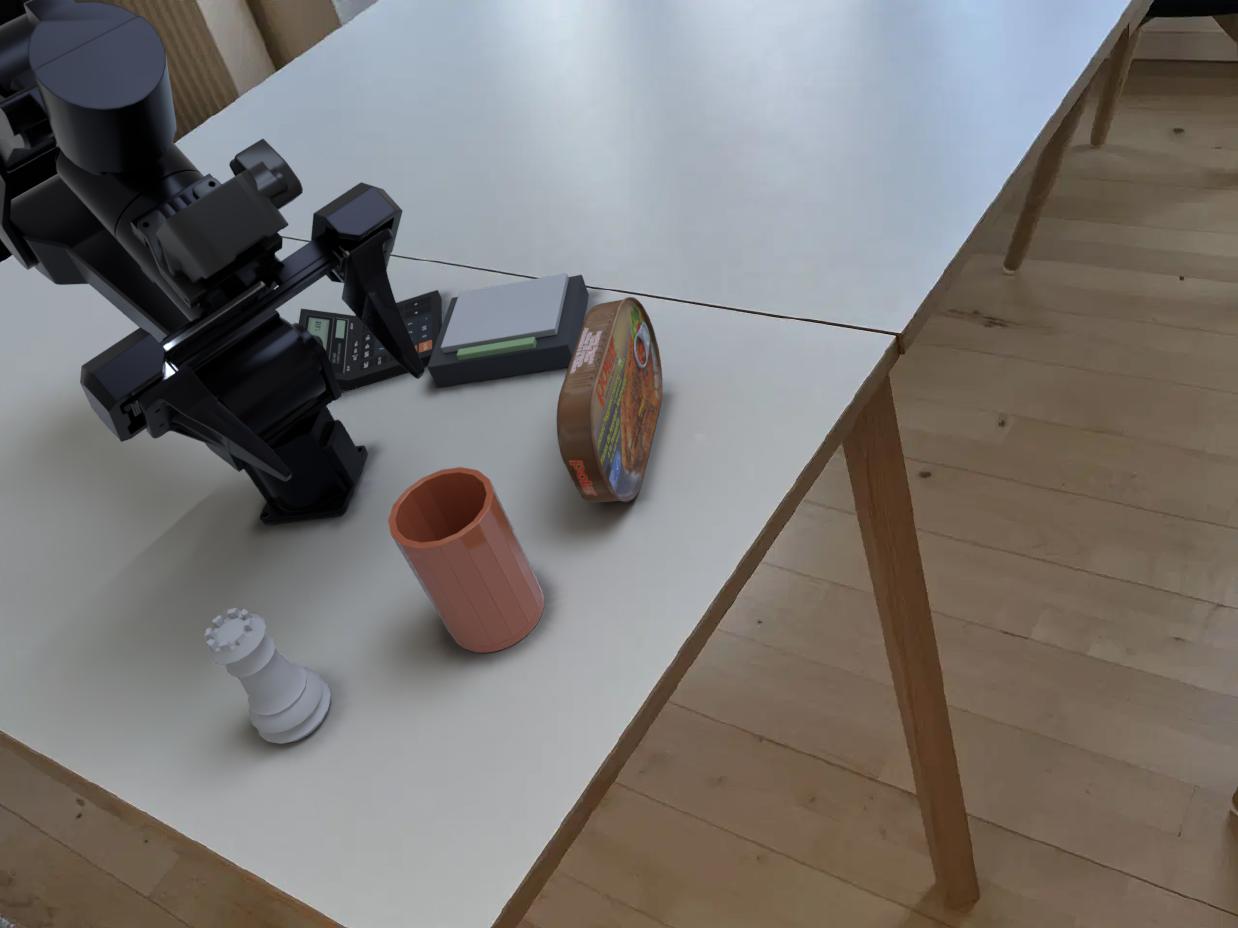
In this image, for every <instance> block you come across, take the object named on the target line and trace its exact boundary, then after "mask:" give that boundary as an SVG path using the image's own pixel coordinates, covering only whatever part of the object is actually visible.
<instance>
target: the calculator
mask: <svg viewBox="0 0 1238 928" xmlns="http://www.w3.org/2000/svg"><path fill="white" fill-rule="evenodd" d="M442 303H443V302H442V296H441V294H440V292H439V290H438V289H436V290H433V291H429V292H426V293H423V294H419V295H417V296H414V297H410V298H407V299H404V300H400V301H398V302H397V301H396V304H397V306H398V309H399V311H400V313H401V316H402V318H403V320H404V323H405V325H406V327H407V330H408V332H409V334H410V337H411V339H412V341H413V343H414V346H415V348H416V350H417V353H418V355H419V357H420V360H421V362H422V364H423V367H424V368H425V367H428V364H429V361H430V358H431V356H432V353H433V350H434V347H435V344H436V341H437V338H438V336H439V333H440V330H441V327H442V324H443V309H442V308H443V305H442ZM297 323H298V324H300V325H302V326H303V327H304V328H305V329H307V330H308V331H309V332H310V333H311V334H313V335H318V336H319V337H320V338H321V339H322V341H323V347H324V349H325V350H326V353H327V355H328V358H329V361H330V363H331V366H332V369H333V371H334V374H335V377H336V379H337V382H338V385H339V387H338V388H339V389H340V388H342V389H349V390H350V389H352V390H355V389H358V388H360V387H363V386H367V385H371V384H373V383H376V382H380V381H383V380H386V379H389V378H393V377H396V376H399V375H403V374H406V373H409V372H408V371H407V370H406V369H404V368H403V367H402V366H401V365H400V364H399V363H398V362H397V361H396V360H395V359H394V358H393V356H392V355H391V354H390V353H389V352H388V351H387V350H386V349H385V347H384V346H383V345H382V344H381V343H380V342H379V341H378V339H377V338H376V337H375V336H374V335H373V334H372V333H371V331H370V330H369V329H368V328H367V327H366V326H365V325H364V324H363V322H362V321H361V320H360V319H359V318H358V317H357V316H356V315H355V314H354V315H353V314H344V313H337V312H331V311H323V310H317V309H316V310H315V309H307V308H300V312H299V318H298V322H297Z"/></svg>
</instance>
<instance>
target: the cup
mask: <svg viewBox="0 0 1238 928" xmlns="http://www.w3.org/2000/svg"><path fill="white" fill-rule="evenodd" d="M387 522H388V528H389V532H390V533H389V534H390V535H391V537H392V539H393V541H394V542H395V544H396V546H397V547H398V549H399V551H400V552H401V554H402V556H403V558H404V559H405V561H406V562H407V565H408V566H409V567H410V569H411V571H412V574H414V576H415V578H416V580H417V582H418V583H419V584H420V586H421V588H422V590H423V592H424V594H425V595H426V596H427V598H428V600H429V601H430V603H431V605H432V606H433V608H434V610H435V611H436V613H437V615H438V617H439V618H440V620H441V622H442V624H443V625H444V627H445V628H446V630H447V632H448V633H449V634H450V635H451V637H452V639H453V640H454V641H455V643H456V644H457V645H459V647H461V648H463V649H465V650H467V651H470V652H474V653H481V654H483V653H485V654H486V653H494V652H498V651H502V650H504V649H507V648H510V647H512V646H514V645H515V644H517V643H519V642H520V641H522V640H523V639H525V637H527V636H528V635H529V634H530V633H531V632H532V631H533V630H534V628H535V627H536V626H537V624H538V623H539V621H540V620H541V618H542V615H543V612H544V608H545V595H544V592H543V589H542V587H541V586H540V582H539V579H538V577H537V575H536V573H535V571H534V569H533V567H532V565H531V562H530V561H529V558H528V557H527V555H526V552H525V550H524V548H523V546H522V543H521V542H520V539H519V537H518V535H517V533H516V531H515V529H514V527H513V525H512V523H511V521H510V519H509V517H508V515H507V512H506V510H505V508H504V506H503V504H502V502H501V500H500V497H499V496H498V493H497V492H496V489H495V487H494V486H493V483H492V481H491V479H490V478H489V477H488V476H486V475H485V474H484V473H483V472H482V471H480V470H478V469H474V468H468V467H464V466H460V467H459V466H458V467H450V468H444V469H440V470H438V471H435V472H433V473H430V474H428V475H425V476H423V477H421V478H419V479H418V480H417V481H415V482H414V483H412V485H410V486H409V487H407V488H406V489H405V490H404V491H403V492H402V494H401V495H400V496H399V497H398V499H397V500H396V501H395V502H394V503H393V505H392V507H391V511H390V513H389V516H388V520H387Z"/></svg>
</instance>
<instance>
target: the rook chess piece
mask: <svg viewBox="0 0 1238 928" xmlns="http://www.w3.org/2000/svg"><path fill="white" fill-rule="evenodd" d="M227 615H228V617H226V618H222V616H221V615H220V614H218V615H217V616H216V617H215V618H213V620H211V623H212V624H213V625H214V626H215V627H214V629H213V628H206V629H205V633H204V638H205V639H206V640H207V641H206V644H207V650H206V651H207V656H208V658H209V659H210V660H211V661H212V662H214V663H215V664H220V665H225V670H226V673H228V674H229V675H230V676H231V677H233V678H237V679H238V681H239V682H240V683H241V685H242V687H243V688H244V691H245V693H246V694H247V703H248V714H249V717H250V720H251V723H252V726H253V727H255V728H256V729H257V731H258V735H259V736H260V737H262V738H263V739H264V740H265V741H266V742H267V743H274V744H289V743H294V742H297V741H300V740H302V739H304V738H305V737H307V736H309V735H311V734H312V733H313V732H314V731H315V730H316V729H317V728H318V727H319V726H321V724H322V723H323V721H324V719H325V717H326V715H327V714H328V712H329V708H330V702H331V695H332V693H331V690H330V688H329V685H328V683H327V682H326V681H324V680H323V679H322V678H321V676H320V674H318V673H317V672H316V671H314V670H313V669H311V668H310V667H308V666H305V665H304V666H303V665H300V664H298V663H294V662H290V661H289V660H288V659H287V658H286V657H285V656H283V655H282V654H281V653H280V652H279V651H278V649H277V648H276V643H275V640H274V638H273V637H271V636H270V635H269V634H266V630H267V625H266V622H265V618H263V617H262V616H260V615H259V614H255V613H250V612H249V611H248V610H247V609H245V608H243V609H242V610H241V611H240V610H239V609H238V608H237V607H234V608H230V609H227Z"/></svg>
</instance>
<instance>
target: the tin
mask: <svg viewBox="0 0 1238 928" xmlns="http://www.w3.org/2000/svg"><path fill="white" fill-rule="evenodd" d="M662 398H663V368H662V360H661V355H660V349H659V344H658V341H657V337H656V332H655V328H654V327H653V323H652V320H651V318H650V316H649V314H648V312H647V310H646V309H645V307H644V305H643V304H642V303H641V302H640V300H639V299H638V298H635V297H633V296H627V297H625V298H623V299H618V300H612V301H606V302H602V303H598V304H596V305H594V306H592V307H591V308H590V309H589V310H588V312H587V313H586V314H585V318H584V323H583V326H582V329H581V332H580V334H579V337H578V340H577V343H576V346H575V349H574V352H573V355H572V358H571V361H570V364H569V367H567V370H566V373H565V376H564V380H563V383H562V385H561V389H560V391H559V395H558V399H557V406H556V407H557V408H556V436H557V442H558V443H557V444H558V447H559V448H558V449H559V452H560V456H561V460H562V462H563V464H564V466H565V467H566V469H567V472H568V474H569V476H570V479H571V480H572V483H573V485H574V486H575V488H576V490H577V492H578V493H579V495H580V496H581V498H582V499H583V500H584V501H586V502H590V503H607V502H608V503H609V502H618V501H620V502H625V503H628V502H630V501H632V500H633V499H634V498H636V496H638V494H639V492H640V490H641V488H642V484H643V480H644V477H645V472H646V468H647V464H648V460H649V455H650V451H651V446H652V443H653V439H654V434H655V431H656V427H657V422H658V417H659V414H660V409H661V405H662V400H663V399H662Z"/></svg>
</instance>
